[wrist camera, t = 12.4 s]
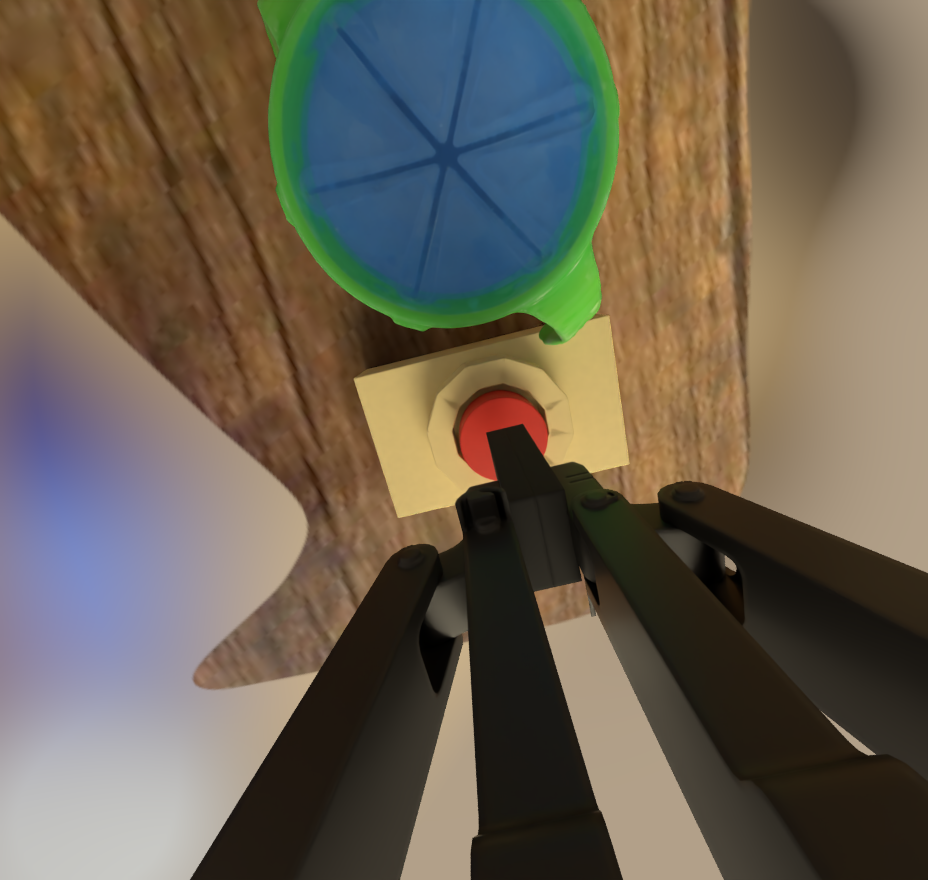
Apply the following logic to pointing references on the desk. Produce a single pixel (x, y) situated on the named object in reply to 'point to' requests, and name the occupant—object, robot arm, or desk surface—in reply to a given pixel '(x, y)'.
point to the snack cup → (446, 153)
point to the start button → (496, 426)
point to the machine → (475, 373)
